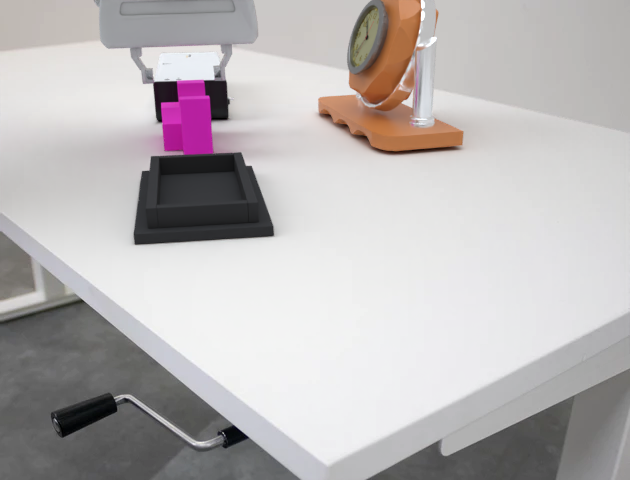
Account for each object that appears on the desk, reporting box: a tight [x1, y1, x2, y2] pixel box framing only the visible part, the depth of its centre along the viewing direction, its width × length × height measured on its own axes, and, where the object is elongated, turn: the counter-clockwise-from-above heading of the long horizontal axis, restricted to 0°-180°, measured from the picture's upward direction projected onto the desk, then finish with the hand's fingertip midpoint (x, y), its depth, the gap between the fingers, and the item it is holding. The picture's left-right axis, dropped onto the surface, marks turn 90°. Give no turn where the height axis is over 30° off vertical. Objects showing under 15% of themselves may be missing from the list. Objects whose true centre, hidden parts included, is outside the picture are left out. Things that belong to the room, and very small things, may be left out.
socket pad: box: [133, 151, 275, 245], centre depth 80 cm, size 13×22×3 cm, turn 10°
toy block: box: [161, 80, 214, 155], centre depth 103 cm, size 15×6×8 cm, turn 11°
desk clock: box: [317, 0, 464, 152], centre depth 109 cm, size 12×30×20 cm, turn 18°
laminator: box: [152, 51, 235, 121], centre depth 132 cm, size 34×12×6 cm, turn 9°
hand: (184, 81), depth 101 cm, fingers open, 8 cm apart
